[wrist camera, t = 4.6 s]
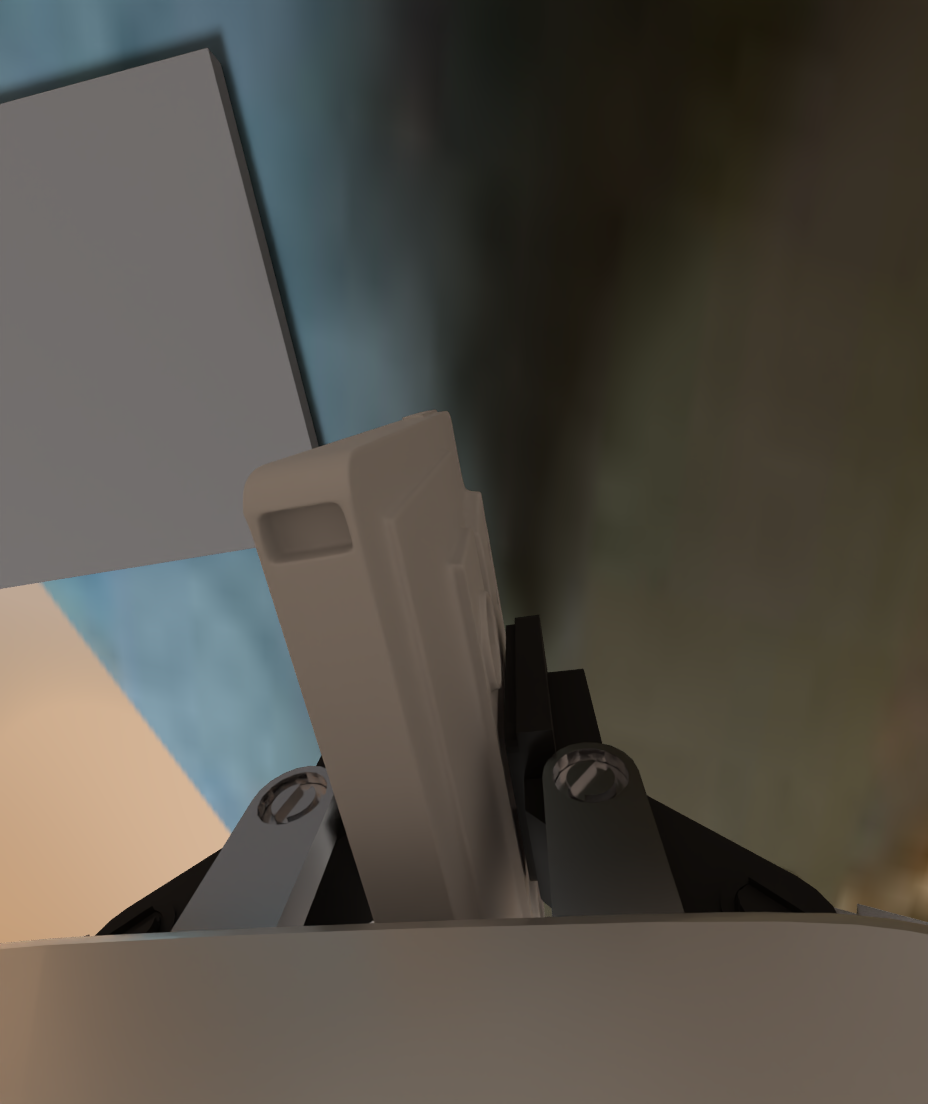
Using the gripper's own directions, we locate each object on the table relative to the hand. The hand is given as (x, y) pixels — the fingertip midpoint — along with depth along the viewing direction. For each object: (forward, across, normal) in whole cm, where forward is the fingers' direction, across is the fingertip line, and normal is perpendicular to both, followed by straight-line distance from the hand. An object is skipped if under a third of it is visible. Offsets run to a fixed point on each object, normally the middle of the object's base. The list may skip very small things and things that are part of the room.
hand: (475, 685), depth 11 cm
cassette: (+2, 0, 0) cm, 2 cm away
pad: (+5, +10, -9) cm, 14 cm away
